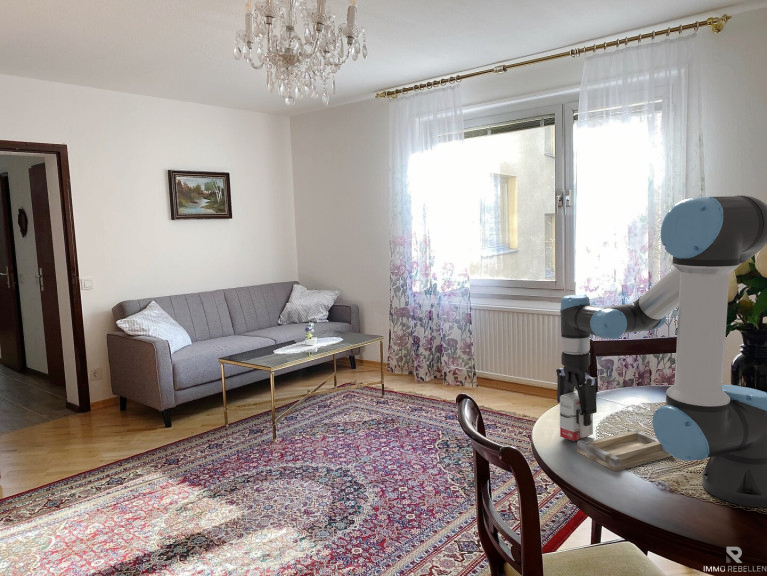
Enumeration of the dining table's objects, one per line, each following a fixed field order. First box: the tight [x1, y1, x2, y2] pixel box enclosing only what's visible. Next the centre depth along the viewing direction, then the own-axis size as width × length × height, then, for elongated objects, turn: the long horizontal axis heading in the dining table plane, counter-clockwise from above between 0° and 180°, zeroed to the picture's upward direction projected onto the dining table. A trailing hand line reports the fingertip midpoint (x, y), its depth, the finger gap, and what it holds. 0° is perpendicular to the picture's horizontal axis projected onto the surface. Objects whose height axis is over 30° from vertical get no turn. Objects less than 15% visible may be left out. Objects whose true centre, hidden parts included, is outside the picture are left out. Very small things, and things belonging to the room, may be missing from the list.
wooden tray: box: [576, 427, 673, 472], centre depth 143 cm, size 13×19×3 cm
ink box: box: [559, 390, 594, 442], centre depth 154 cm, size 8×5×12 cm, turn 123°
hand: (576, 432), depth 154 cm, fingers closed on ink box, 6 cm apart
